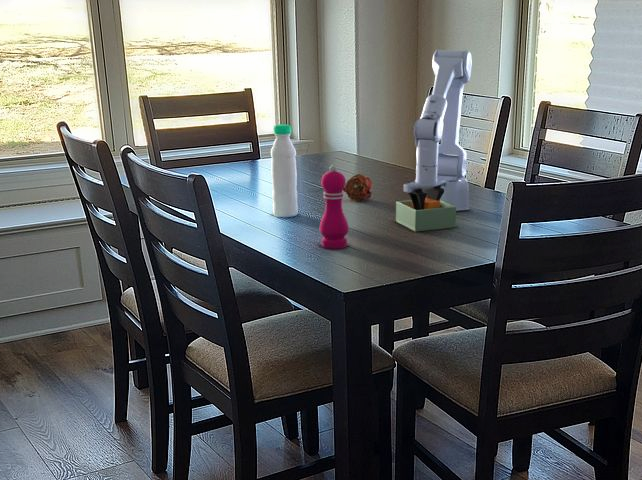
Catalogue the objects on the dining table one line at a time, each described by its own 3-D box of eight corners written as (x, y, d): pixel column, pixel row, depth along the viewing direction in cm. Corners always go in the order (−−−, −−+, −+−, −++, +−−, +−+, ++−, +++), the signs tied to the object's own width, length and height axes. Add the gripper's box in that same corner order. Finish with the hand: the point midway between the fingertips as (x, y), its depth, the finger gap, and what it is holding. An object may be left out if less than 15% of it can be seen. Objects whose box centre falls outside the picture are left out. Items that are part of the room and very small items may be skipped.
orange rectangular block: (422, 218, 237) (422, 196, 234) (439, 223, 232) (440, 201, 229) (411, 220, 234) (411, 198, 232) (428, 225, 229) (429, 203, 227)
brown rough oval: (360, 209, 256) (353, 206, 268) (382, 191, 256) (374, 189, 268) (343, 187, 254) (336, 185, 265) (365, 169, 254) (357, 167, 265)
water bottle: (301, 213, 245) (299, 123, 235) (291, 218, 239) (288, 127, 229) (279, 211, 247) (276, 122, 237) (269, 216, 241) (265, 126, 231)
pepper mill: (319, 242, 216) (317, 162, 208) (347, 241, 216) (347, 162, 209) (320, 249, 209) (318, 167, 201) (349, 249, 210) (349, 167, 202)
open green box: (434, 217, 241) (435, 197, 239) (455, 227, 230) (456, 206, 228) (395, 221, 236) (396, 201, 234) (415, 231, 226) (415, 210, 224)
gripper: (437, 160, 234) (435, 209, 239) (396, 166, 226) (395, 216, 231) (454, 163, 229) (452, 213, 234) (414, 169, 221) (412, 221, 226)
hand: (425, 215), depth 232 cm, fingers closed on orange rectangular block, 4 cm apart
